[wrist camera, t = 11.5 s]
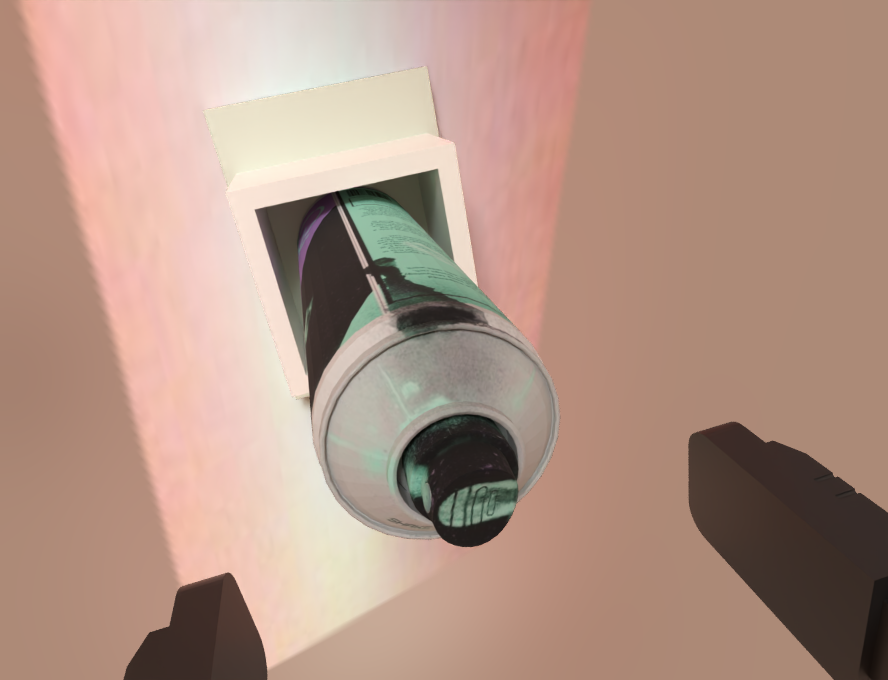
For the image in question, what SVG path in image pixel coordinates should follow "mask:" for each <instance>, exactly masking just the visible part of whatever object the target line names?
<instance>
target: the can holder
mask: <svg viewBox="0 0 888 680" xmlns="http://www.w3.org/2000/svg"><path fill="white" fill-rule="evenodd" d="M203 112H204V115H205V118H206V122H207V125H208V128H209V131H210V134H211V137H212V140H213V143H214V146H215V149H216V153H217V156H218V159H219V162H220V165H221V168H222V171H223V174H224V177H225V180H226V183H227V187H228V189H227V190H226V192H225V193H226V196H227V199H228V202H229V205H230V208H231V211H232V214H233V218H234V221H235V224H236V227H237V230H238V233H239V236H240V239H241V242H242V245H243V248H244V251H245V254H246V257H247V260H248V264H249V267H250V270H251V273H252V276H253V279H254V282H255V285H256V288H257V291H258V294H259V297H260V300H261V303H262V306H263V310H264V313H265V316H266V319H267V322H268V325H269V328H270V331H271V334H272V337H273V340H274V343H275V346H276V349H277V352H278V355H279V359H280V362H281V365H282V368H283V371H284V374H285V377H286V380H287V383H288V386H289V389H290V392H291V395H292V397H294V396H295V397H296V400H297V399H301V398H304V397H308V396H309V384H308V372H307V360H306V348H305V336H304V324H303V312H302V300H301V288H300V276H299V263H298V251H297V238H298V231H299V227H300V224H301V222H302V219H303V217H304V215H305V213H306V212H307V210H308V209H309V207H310V206H311V205H312V204H313V203H314V202H315V201H316V200H317V199H318V198H319V197H321V196H322V195H324V194H326V193H331V192H335V191H340V190H344V189H349V188H353V187H358V186H362V185H363V186H368V187H373V188H375V189H378V190H380V191H382V192H384V193H386V194H387V195H389V196H390V197H392V198H393V199H395V200H396V201H397V202H398V203H399V204H400V205H401V206H402V207H403V208H404V209H405V210H406V211H407V212H408V214H409V215H410V216H411V217H412V218H413V219H414V220H415V221H416V222H417V223H418V224H419V225H420V226H421V227H422V228H423V229H424V230H425V232H426V233H427V234H428V235H429V236H430V237H431V238H432V239H433V240H434V241H435V242H436V243H437V244H438V245H439V246H440V247H441V248H442V249H443V251H444V252H445V253H446V254H447V255H448V256H449V257H450V258H451V259H452V260H453V261H454V262H455V263H456V264H457V265H458V266H459V267H460V269H461V270H462V271H463V272H464V273H465V274H466V275H467V276H468V277H469V278H470V279H471V280H472V281H473V282H474V283H475V284H476V285H477V287H478V284H477V277H476V271H475V265H474V259H473V253H472V247H471V241H470V234H469V228H468V222H467V216H466V210H465V204H464V197H463V191H462V185H461V179H460V173H459V167H458V161H457V154H456V148H455V143H454V142H451V141H448V140H446V139H443V138H440V137H439V133H438V127H437V122H436V116H435V110H434V104H433V98H432V92H431V87H430V81H429V75H428V69H427V66H426V67H419V68H414V69H409V70H404V71H399V72H394V73H389V74H384V75H379V76H373V77H368V78H363V79H358V80H353V81H348V82H343V83H338V84H333V85H328V86H323V87H318V88H313V89H308V90H303V91H298V92H293V93H288V94H282V95H277V96H272V97H267V98H262V99H257V100H252V101H247V102H242V103H237V104H232V105H227V106H222V107H217V108H212V109H207V110H204V111H203Z"/></svg>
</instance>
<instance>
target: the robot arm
mask: <svg viewBox="0 0 888 680" xmlns="http://www.w3.org/2000/svg"><path fill="white" fill-rule="evenodd" d="M689 506H690V510H691V514H692V517H693V519H694V521H695V523H696V525H697V527H698V529H699V531H700V532H701V533H702V535H703V536H704V537H705V538H706V540H707V541H708V542H709V543H710V544H711V545H712V546H713V547H714V548H715V550H716V551H717V552H718V553H719V554H720V555H721V556H722V557H723V558H724V559H725V560H726V562H727V563H728V564H729V565H730V566H731V567H732V568H733V569H734V570H735V572H736V573H737V574H738V575H739V576H740V577H741V578H742V579H743V580H744V581H745V583H746V584H747V585H748V586H749V587H750V588H751V589H752V590H753V591H754V592H755V593H756V595H757V596H758V597H759V598H760V599H761V600H762V601H763V602H764V603H765V604H766V606H767V607H768V608H769V609H770V610H771V611H772V612H773V613H774V614H775V615H776V617H777V618H778V619H779V620H780V621H781V622H782V623H783V624H784V625H785V626H786V628H787V629H788V630H789V631H790V632H791V633H792V634H793V635H794V636H795V637H796V639H797V640H798V641H799V642H800V643H801V644H802V645H803V646H804V647H805V648H806V650H807V651H808V652H809V653H810V654H811V655H812V656H813V657H814V658H815V659H816V660H817V661H818V663H819V664H820V665H821V666H822V667H823V668H824V669H825V670H826V671H827V673H828V674H829V675H830V676H831V677H832V678H833V679H834V680H888V513H887V512H886V511H885V510H883V509H882V508H881V507H879V506H878V505H877V504H875V503H874V502H872V501H871V500H870V499H868V498H867V497H865V496H864V495H863V494H861V493H858V494H857V493H856V492H855V489H854V488H853V487H852V486H850V485H849V484H847V483H846V482H845V481H843V480H842V479H840V478H839V477H834V476H833V473H832V472H831V471H829V470H828V469H827V468H825V467H824V466H822V465H821V464H820V463H818V462H817V461H816V460H814V459H813V458H811V457H810V456H809V455H807V454H806V453H803V452H801V451H798V450H795V449H793V448H791V447H788V446H785V445H783V444H780V443H778V442H775V441H770V442H767V443H765V442H764V441H763V440H761V439H760V438H759V437H757V436H756V435H755V434H753V433H752V432H751V431H749V430H748V429H747V428H746V427H744V426H743V425H741V424H740V423H737V422H729V423H726V424H722V425H719V426H716V427H712V428H709V429H706V430H703V431H699V432H696V433H694V434H692V435H691V436H690V439H689ZM124 680H267V665H266V658H265V652H264V648H263V644H262V641H261V638H260V635H259V633H258V630H257V628H256V626H255V624H254V621H253V619H252V617H251V614H250V612H249V610H248V608H247V605H246V603H245V601H244V599H243V596H242V594H241V592H240V589H239V587H238V585H237V583H236V580H235V578H234V577H233V575H232V574H231V573H225V574H221V575H218V576H215V577H211V578H208V579H205V580H201V581H198V582H195V583H191V584H188V585H185V586H182V587H180V588H179V589H178V591H177V594H176V598H175V603H174V607H173V612H172V617H171V621H170V626H169V627H166V628H163V629H159V630H156V631H153V632H150V633H149V634H148V635H147V637H146V638H145V640H144V642H143V643H142V645H141V646H140V648H139V649H138V651H137V652H136V654H135V656H134V657H133V658H132V660H131V662H130V663H129V665H128V666H127V669H126V673H125V676H124Z"/></svg>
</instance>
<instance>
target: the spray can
mask: <svg viewBox="0 0 888 680" xmlns="http://www.w3.org/2000/svg"><path fill="white" fill-rule="evenodd" d="M297 251H298V263H299V276H300V288H301V300H302V312H303V324H304V336H305V348H306V360H307V372H308V384H309V396H310V408H311V420H312V432H313V444H314V447H315V450H316V454H317V457H318V460H319V464H320V465H321V467H322V470H323V473H324V477H325V480H326V483H327V485H328V487H329V488H330V490H331V492H332V493H333V495H334V497H335V499H336V500H337V501H338V502H339V504H340V505H341V506H342V507H343V508H344V509H345V510H346V511H347V512H348V513H349V514H350V515H351V516H353V517H354V518H356V519H357V520H359V521H360V522H362V523H363V524H365V525H366V526H368V527H370V528H372V529H375V530H377V531H380V532H382V533H384V534H387V535H391V536H396V537H401V538H406V539H437V538H442V539H444V540H445V541H447V542H448V543H450V544H453V545H456V546H461V547H474V546H479V545H482V544H484V543H486V542H488V541H490V540H491V539H493V538H494V537H496V536H497V535H498V534H499V533H500V532H501V531H502V530H503V528H504V527H505V526H506V524H507V523H508V521H509V519H510V518H511V516H512V514H513V511H514V509H515V506H516V504H517V503H518V502H519V501H520V500H521V499H522V498H523V497H524V496H525V495H527V494H528V493H529V491H530V490H531V489H532V487H533V486H534V485H535V484H536V482H537V481H538V480H539V479H540V477H541V476H542V474H543V472H544V470H545V468H546V467H547V465H548V463H549V461H550V459H551V457H552V454H553V451H554V448H555V445H556V442H557V439H558V432H559V425H560V410H559V398H558V395H557V392H556V389H555V386H554V383H553V380H552V378H551V376H550V375H549V373H548V371H547V370H546V368H545V367H544V365H543V361H542V360H541V358H540V357H539V355H538V353H537V352H536V350H535V348H534V347H533V345H532V344H531V343H530V342H529V340H528V339H527V338H526V337H525V336H524V335H523V334H522V333H521V332H520V331H519V330H518V329H517V328H516V327H515V326H514V325H513V324H512V322H511V321H510V320H509V319H508V318H507V317H506V316H505V315H504V314H503V313H502V312H501V311H500V310H499V309H498V308H497V307H496V306H495V304H494V303H493V302H492V301H491V300H490V299H489V298H488V297H487V296H486V295H485V294H484V293H483V292H482V291H481V290H480V289H479V288H478V287H477V285H476V284H475V283H474V282H473V281H472V280H471V279H470V278H469V277H468V276H467V275H466V274H465V273H464V272H463V271H462V270H461V269H460V267H459V266H458V265H457V264H456V263H455V262H454V261H453V260H452V259H451V258H450V257H449V256H448V255H447V254H446V253H445V252H444V251H443V249H442V248H441V247H440V246H439V245H438V244H437V243H436V242H435V241H434V240H433V239H432V238H431V237H430V236H429V235H428V234H427V233H426V232H425V230H424V229H423V228H422V227H421V226H420V225H419V224H418V223H417V222H416V221H415V220H414V219H413V218H412V217H411V216H410V215H409V214H408V212H407V211H406V210H405V209H404V208H403V207H402V206H401V205H400V204H399V203H398V202H397V201H396V200H395V199H393V198H392V197H390V196H389V195H387V194H386V193H384V192H382V191H380V190H378V189H375V188H373V187H368V186H363V185H362V186H358V187H353V188H349V189H344V190H340V191H335V192H331V193H326V194H324V195H322V196H321V197H319V198H318V199H317V200H316V201H315V202H314V203H313V204H312V205H311V206H310V207H309V209H308V210H307V212H306V213H305V215H304V217H303V219H302V222H301V224H300V227H299V231H298V238H297Z"/></svg>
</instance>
